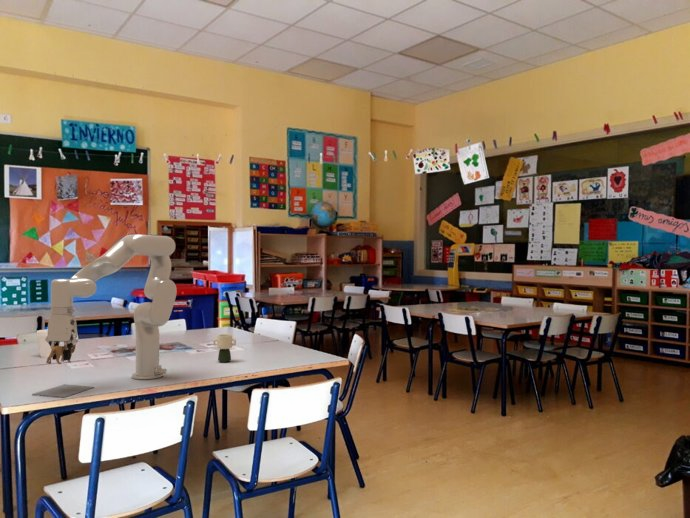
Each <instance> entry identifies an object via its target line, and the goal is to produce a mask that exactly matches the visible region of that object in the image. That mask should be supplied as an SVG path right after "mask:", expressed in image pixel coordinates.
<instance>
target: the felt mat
mask: <svg viewBox="0 0 690 518" xmlns="http://www.w3.org/2000/svg"><path fill="white" fill-rule="evenodd" d="M94 388H95V386H88V385H79V384H61V385H58V386H54V387H50V388H48V389H44V390H41V391H39V392H35V393H32V394H31V395H32V396H37V395H40V396H39V397H48V396H52V397H51V398H59V397H61V398H60V399H64V398H68V397H71V396H73V395H76V394H79V393H82V392H86V391H88V390H91V389H94Z"/></svg>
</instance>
